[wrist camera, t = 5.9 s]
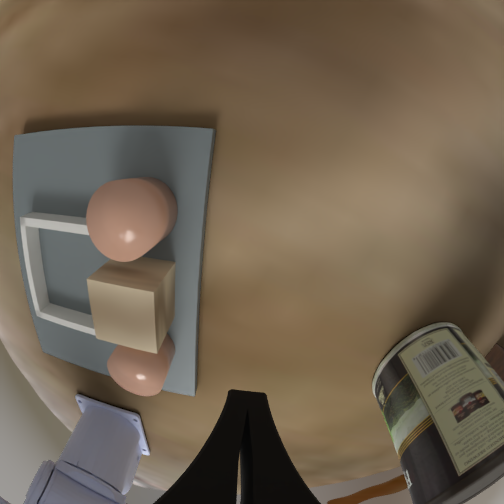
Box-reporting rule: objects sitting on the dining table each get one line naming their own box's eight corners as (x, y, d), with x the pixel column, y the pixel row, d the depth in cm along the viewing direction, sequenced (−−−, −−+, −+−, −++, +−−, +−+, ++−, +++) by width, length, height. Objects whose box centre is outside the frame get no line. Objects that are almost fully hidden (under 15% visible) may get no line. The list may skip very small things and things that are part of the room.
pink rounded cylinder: (175, 369, 20) (164, 401, 17) (128, 358, 20) (112, 387, 17) (174, 328, 19) (160, 360, 15) (123, 317, 19) (102, 346, 15)
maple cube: (174, 316, 18) (157, 353, 14) (121, 306, 18) (96, 338, 14) (175, 262, 17) (153, 292, 13) (118, 252, 17) (86, 278, 13)
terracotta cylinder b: (184, 236, 16) (166, 254, 13) (126, 248, 16) (99, 267, 13) (169, 168, 15) (145, 169, 12) (110, 186, 15) (78, 193, 12)
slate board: (196, 388, 22) (194, 396, 21) (47, 346, 22) (43, 351, 21) (215, 130, 15) (213, 128, 14) (22, 135, 15) (14, 135, 14)
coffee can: (402, 413, 23) (441, 517, 10) (349, 381, 21) (390, 528, 8) (475, 350, 21) (541, 443, 7) (441, 299, 19) (544, 422, 5)
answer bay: (119, 328, 19) (111, 340, 17) (46, 307, 19) (36, 316, 17) (112, 220, 16) (100, 227, 15) (32, 211, 16) (19, 216, 15)
